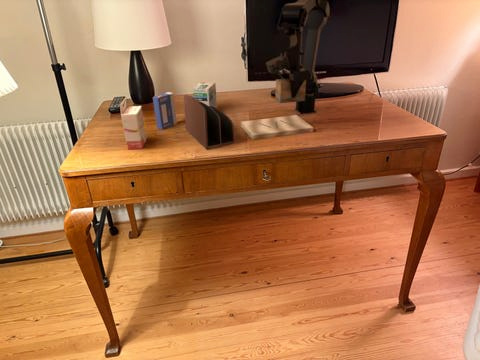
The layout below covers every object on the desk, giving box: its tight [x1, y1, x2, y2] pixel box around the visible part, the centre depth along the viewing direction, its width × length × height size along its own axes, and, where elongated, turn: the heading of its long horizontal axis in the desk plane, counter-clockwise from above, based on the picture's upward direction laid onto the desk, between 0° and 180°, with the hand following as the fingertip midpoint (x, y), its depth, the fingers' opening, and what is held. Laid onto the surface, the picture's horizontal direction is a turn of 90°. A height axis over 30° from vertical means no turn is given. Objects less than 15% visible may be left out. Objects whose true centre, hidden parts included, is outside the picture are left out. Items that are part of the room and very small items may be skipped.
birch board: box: [240, 114, 314, 140], centre depth 122 cm, size 22×14×2 cm, turn 106°
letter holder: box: [183, 94, 235, 151], centre depth 114 cm, size 10×20×14 cm, turn 27°
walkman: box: [152, 91, 178, 131], centre depth 125 cm, size 8×3×12 cm, turn 144°
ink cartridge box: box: [119, 97, 147, 150], centre depth 110 cm, size 9×5×15 cm, turn 5°
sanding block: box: [275, 78, 306, 104], centre depth 117 cm, size 9×4×7 cm, turn 106°
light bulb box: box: [192, 81, 218, 109], centre depth 139 cm, size 11×7×11 cm, turn 168°
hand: (290, 95), depth 118 cm, fingers closed on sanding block, 4 cm apart
